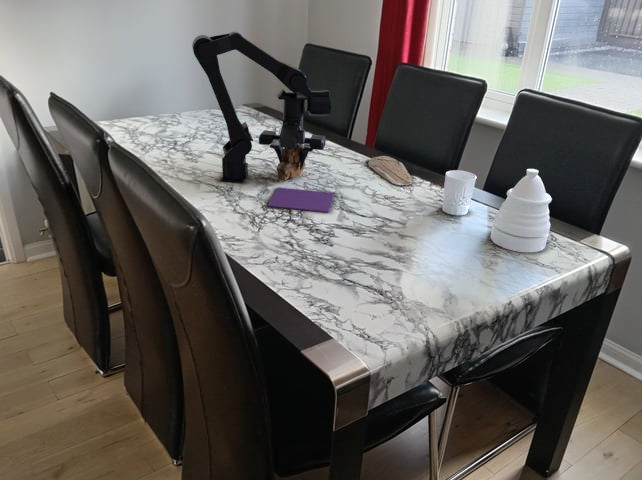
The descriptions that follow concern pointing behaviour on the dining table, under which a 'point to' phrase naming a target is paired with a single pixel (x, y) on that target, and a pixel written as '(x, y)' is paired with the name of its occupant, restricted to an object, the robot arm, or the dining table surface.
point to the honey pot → (523, 216)
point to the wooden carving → (290, 163)
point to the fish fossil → (390, 170)
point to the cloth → (302, 200)
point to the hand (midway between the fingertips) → (291, 168)
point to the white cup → (458, 192)
